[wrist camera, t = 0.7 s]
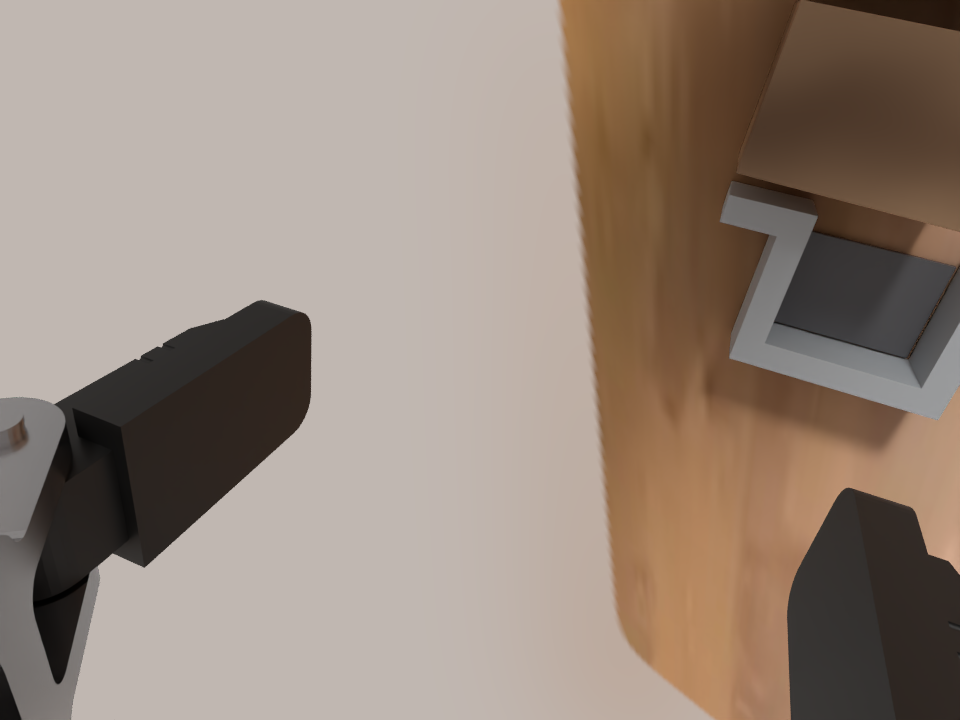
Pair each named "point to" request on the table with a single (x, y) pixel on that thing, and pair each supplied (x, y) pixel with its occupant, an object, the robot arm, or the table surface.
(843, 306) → the track
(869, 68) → the block
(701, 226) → the table surface
